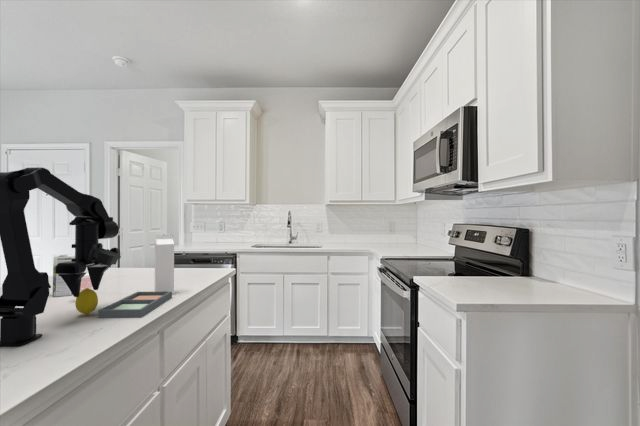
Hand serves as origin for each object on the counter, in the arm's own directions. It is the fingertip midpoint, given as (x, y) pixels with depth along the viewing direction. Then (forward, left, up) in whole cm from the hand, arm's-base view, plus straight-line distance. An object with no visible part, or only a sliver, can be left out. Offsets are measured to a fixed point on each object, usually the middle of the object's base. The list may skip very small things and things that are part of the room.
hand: (86, 293), depth 103 cm
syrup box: (+27, +24, -7) cm, 37 cm away
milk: (+27, -12, -7) cm, 30 cm away
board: (+9, -11, -7) cm, 16 cm away
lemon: (0, 0, -7) cm, 7 cm away
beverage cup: (+18, +12, -7) cm, 23 cm away
